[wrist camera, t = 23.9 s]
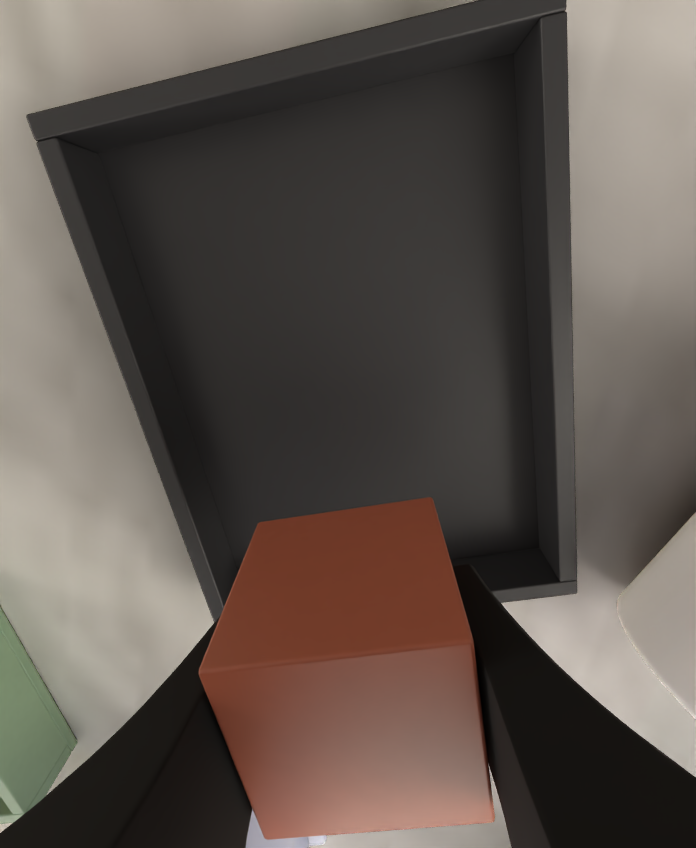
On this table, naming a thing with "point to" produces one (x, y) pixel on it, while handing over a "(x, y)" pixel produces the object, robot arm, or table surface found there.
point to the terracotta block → (351, 676)
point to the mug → (666, 615)
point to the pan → (346, 283)
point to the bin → (27, 730)
